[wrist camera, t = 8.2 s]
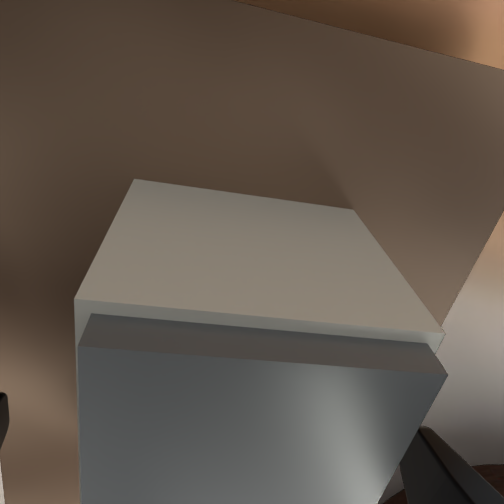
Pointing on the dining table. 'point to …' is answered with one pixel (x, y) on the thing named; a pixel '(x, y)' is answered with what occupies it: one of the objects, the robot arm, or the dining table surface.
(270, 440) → the block
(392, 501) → the black orb on base
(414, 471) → the robot arm
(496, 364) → the dining table surface
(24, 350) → the stand
